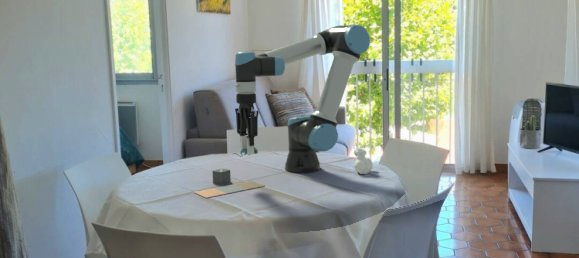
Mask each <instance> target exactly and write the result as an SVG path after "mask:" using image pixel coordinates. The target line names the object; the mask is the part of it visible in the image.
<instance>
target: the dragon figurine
mask: <svg viewBox="0 0 579 258" xmlns="http://www.w3.org/2000/svg"><path fill="white" fill-rule="evenodd" d="M242 152H244V156H246V155H248V154H247V149H242V150H241V149H240V152H239V154H240V155H239V154H238V153H235V152H234V153H232V155H237V156H239V157H243V153H242ZM258 152H259V151H258V149H257V148H256V147H255V146H254V154H256V155H257V154H258ZM254 154H253V155H254ZM248 156H251V154H249V155H248Z"/></svg>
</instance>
